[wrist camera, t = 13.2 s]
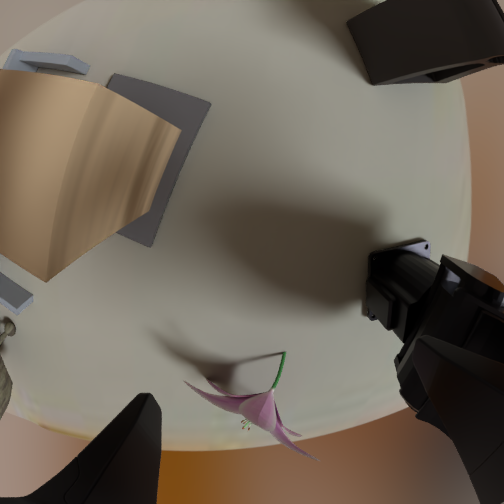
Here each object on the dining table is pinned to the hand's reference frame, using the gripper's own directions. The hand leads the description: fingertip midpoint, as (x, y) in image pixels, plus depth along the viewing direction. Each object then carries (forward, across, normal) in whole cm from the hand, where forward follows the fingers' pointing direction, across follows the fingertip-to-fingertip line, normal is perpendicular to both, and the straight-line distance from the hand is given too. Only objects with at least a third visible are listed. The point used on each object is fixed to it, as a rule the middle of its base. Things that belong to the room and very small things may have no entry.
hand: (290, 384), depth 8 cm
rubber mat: (+13, +8, -9) cm, 17 cm away
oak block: (+12, +8, -9) cm, 17 cm away
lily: (+13, +2, +12) cm, 18 cm away
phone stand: (+13, -15, -15) cm, 25 cm away
